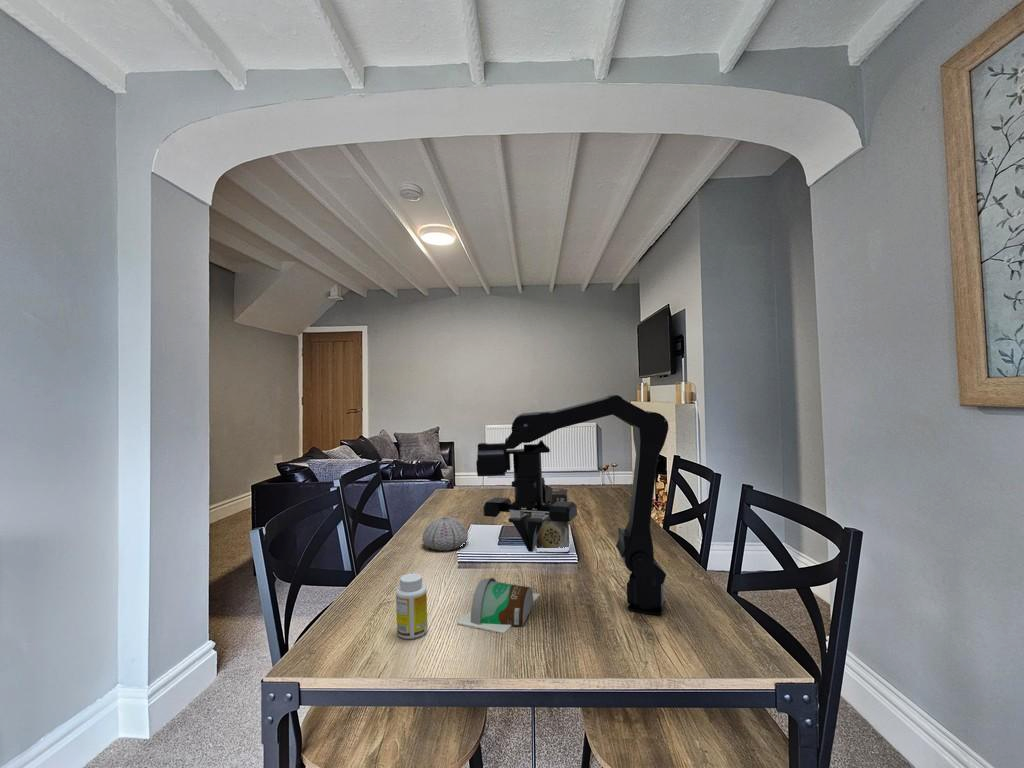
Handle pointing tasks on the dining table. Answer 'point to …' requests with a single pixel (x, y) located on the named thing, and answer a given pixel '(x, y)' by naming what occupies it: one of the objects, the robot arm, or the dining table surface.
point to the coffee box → (554, 526)
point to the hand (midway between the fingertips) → (531, 551)
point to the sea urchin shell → (445, 534)
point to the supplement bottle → (411, 607)
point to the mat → (492, 627)
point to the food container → (500, 603)
